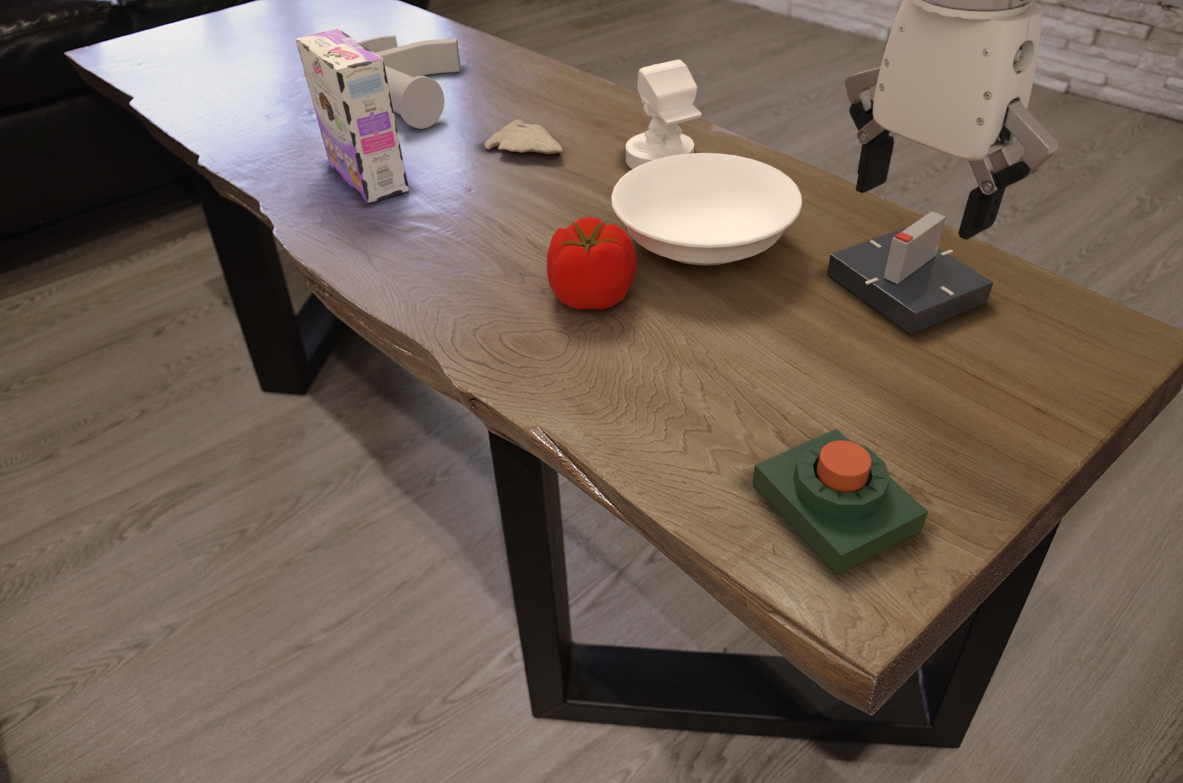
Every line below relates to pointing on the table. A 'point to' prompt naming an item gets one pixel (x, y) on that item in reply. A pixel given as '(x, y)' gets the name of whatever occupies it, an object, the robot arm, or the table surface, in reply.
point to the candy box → (354, 113)
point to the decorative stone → (524, 139)
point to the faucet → (416, 75)
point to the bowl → (706, 207)
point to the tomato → (591, 264)
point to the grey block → (914, 247)
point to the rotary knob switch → (909, 284)
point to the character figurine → (664, 112)
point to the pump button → (843, 466)
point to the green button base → (838, 505)
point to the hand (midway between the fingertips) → (919, 209)
